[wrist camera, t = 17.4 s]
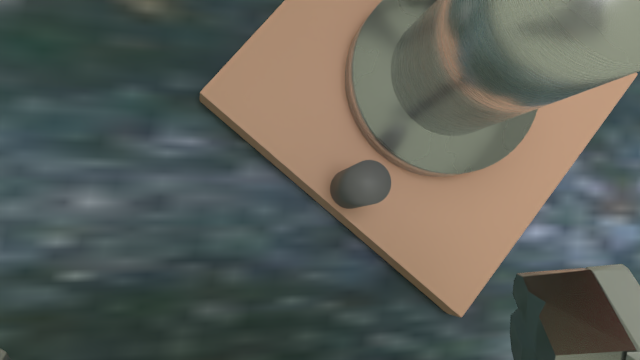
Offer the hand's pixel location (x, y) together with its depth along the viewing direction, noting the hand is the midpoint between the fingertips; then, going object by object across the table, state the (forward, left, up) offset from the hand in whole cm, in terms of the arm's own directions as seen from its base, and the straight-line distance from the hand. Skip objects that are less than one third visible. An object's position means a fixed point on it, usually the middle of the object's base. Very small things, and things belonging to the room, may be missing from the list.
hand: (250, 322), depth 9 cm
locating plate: (+2, +12, -16) cm, 20 cm away
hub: (+2, +12, -14) cm, 19 cm away
